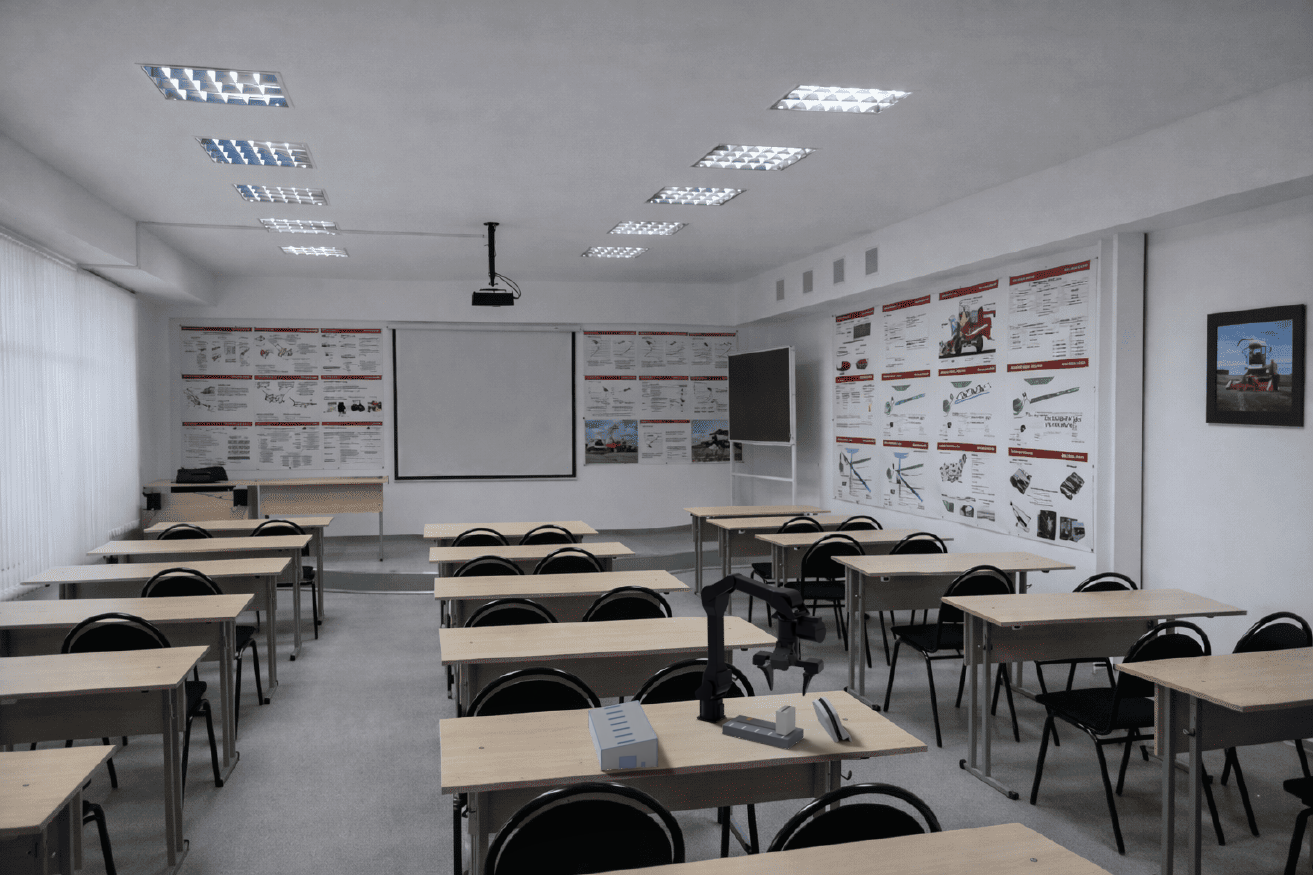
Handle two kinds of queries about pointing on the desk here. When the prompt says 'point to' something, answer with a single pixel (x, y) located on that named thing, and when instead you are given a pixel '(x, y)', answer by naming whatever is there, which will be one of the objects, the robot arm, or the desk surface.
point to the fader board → (761, 731)
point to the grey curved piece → (830, 719)
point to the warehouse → (623, 736)
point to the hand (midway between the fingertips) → (787, 693)
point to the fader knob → (785, 720)
